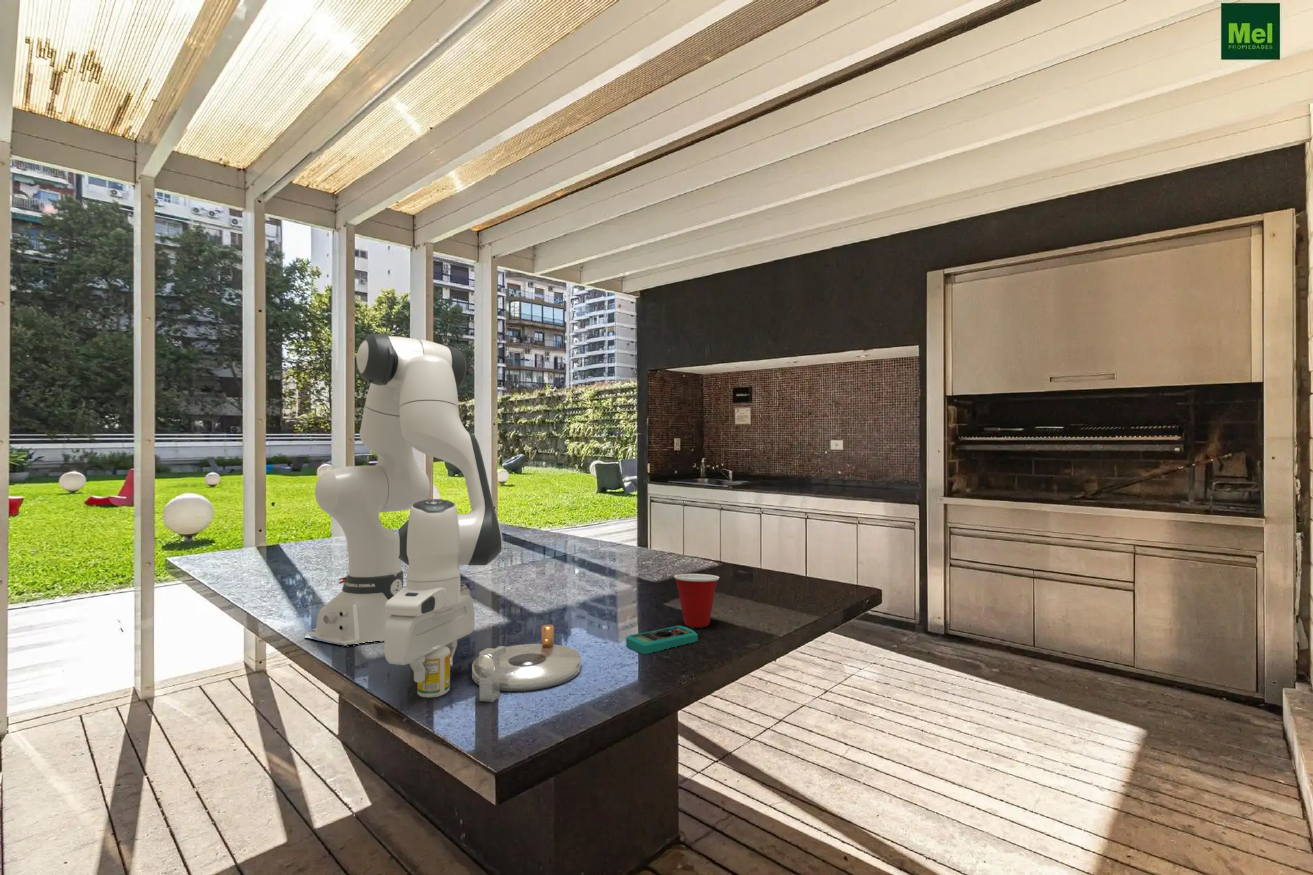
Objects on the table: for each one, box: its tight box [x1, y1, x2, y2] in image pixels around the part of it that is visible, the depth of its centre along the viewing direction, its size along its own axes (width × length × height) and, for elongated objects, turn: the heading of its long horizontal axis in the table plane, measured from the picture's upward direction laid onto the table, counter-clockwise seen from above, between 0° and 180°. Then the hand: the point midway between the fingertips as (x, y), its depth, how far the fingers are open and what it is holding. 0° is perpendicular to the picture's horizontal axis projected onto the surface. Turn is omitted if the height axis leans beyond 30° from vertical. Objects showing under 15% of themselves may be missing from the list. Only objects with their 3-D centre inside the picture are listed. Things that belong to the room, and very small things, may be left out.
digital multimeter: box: [625, 625, 699, 656], centre depth 132 cm, size 7×15×3 cm, turn 125°
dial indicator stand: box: [473, 645, 507, 703], centre depth 104 cm, size 4×6×8 cm, turn 164°
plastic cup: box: [673, 573, 720, 627], centre depth 146 cm, size 11×11×12 cm
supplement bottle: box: [416, 636, 451, 699], centre depth 106 cm, size 5×5×10 cm
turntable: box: [471, 624, 582, 692], centre depth 116 cm, size 20×20×6 cm
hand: (433, 674), depth 106 cm, fingers closed on supplement bottle, 5 cm apart
